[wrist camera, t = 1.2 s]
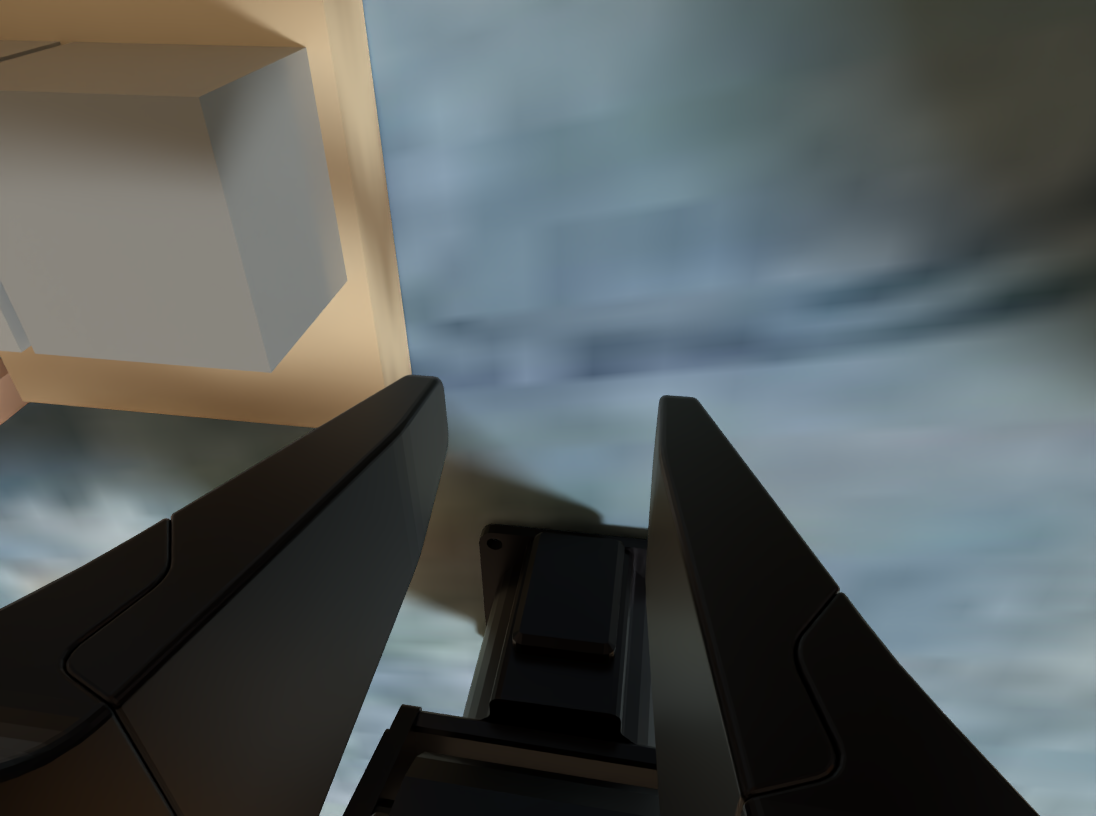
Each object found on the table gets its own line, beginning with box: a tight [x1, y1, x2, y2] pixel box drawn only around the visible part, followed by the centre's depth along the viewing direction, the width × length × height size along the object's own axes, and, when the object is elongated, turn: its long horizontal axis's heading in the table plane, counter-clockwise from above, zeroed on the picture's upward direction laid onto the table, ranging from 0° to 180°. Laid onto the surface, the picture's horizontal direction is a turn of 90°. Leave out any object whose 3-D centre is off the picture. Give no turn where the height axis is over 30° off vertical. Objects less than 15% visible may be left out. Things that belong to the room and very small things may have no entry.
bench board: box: [0, 0, 412, 428], centre depth 17 cm, size 14×11×2 cm
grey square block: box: [0, 42, 347, 373], centre depth 15 cm, size 5×5×4 cm
